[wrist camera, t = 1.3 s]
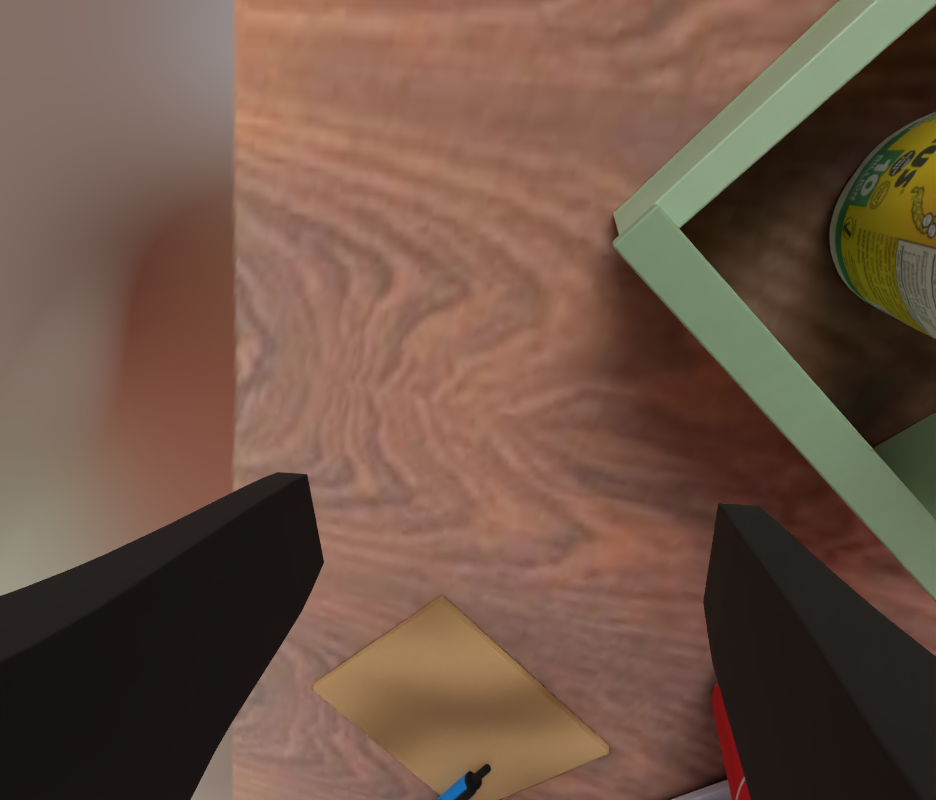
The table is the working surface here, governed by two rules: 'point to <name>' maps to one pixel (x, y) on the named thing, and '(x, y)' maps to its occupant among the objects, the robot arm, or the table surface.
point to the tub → (737, 328)
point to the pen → (466, 785)
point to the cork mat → (458, 706)
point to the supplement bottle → (892, 227)
